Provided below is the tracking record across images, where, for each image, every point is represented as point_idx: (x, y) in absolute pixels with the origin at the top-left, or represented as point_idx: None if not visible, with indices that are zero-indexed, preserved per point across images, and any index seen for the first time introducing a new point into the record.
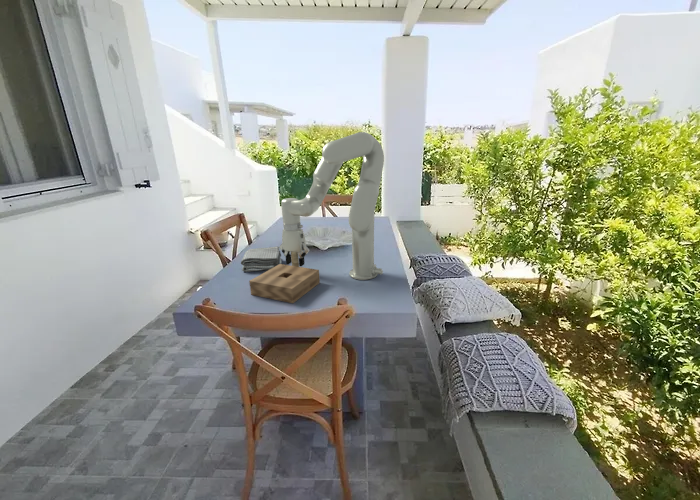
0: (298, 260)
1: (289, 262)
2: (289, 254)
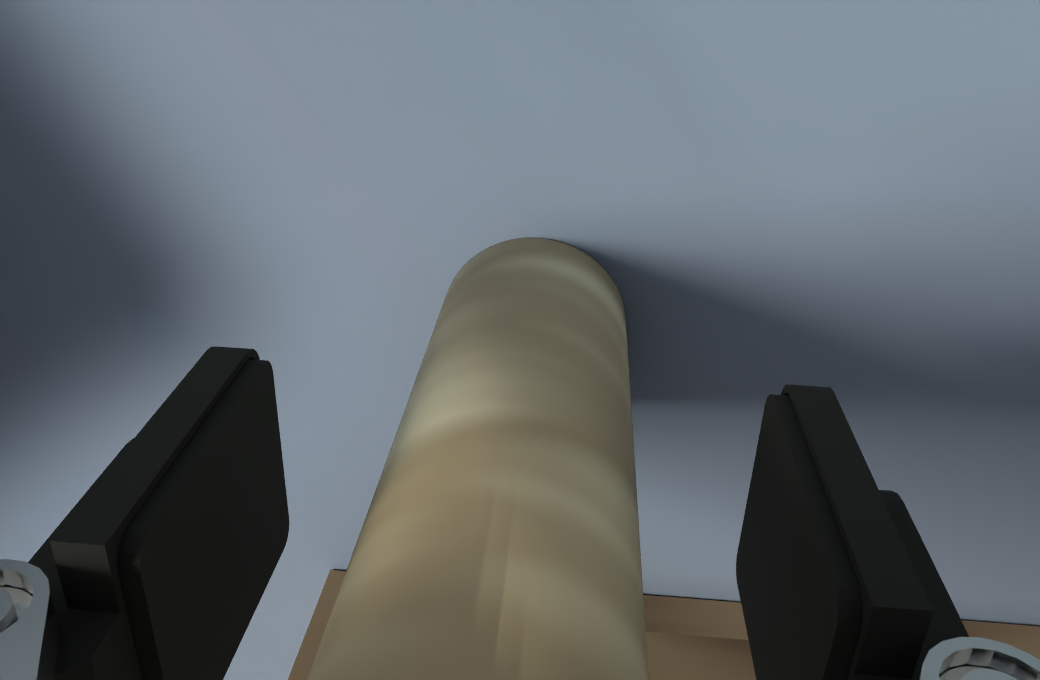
0: (637, 536)
1: (269, 476)
2: (111, 644)
